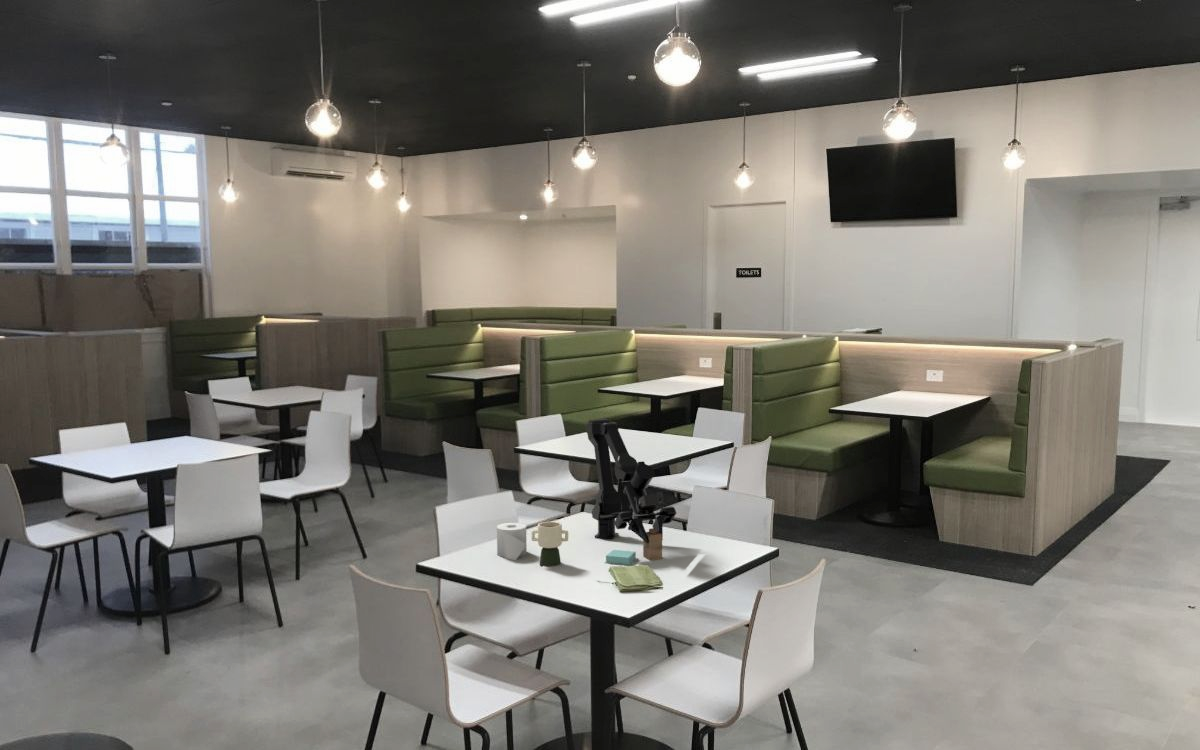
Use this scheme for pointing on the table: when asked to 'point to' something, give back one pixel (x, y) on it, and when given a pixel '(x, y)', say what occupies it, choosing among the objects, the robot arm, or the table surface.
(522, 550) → the toilet tissue
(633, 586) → the washcloth
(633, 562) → the slate slab
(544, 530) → the character mug
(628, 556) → the teal slab
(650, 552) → the walnut pillar
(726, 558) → the table surface
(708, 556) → the table surface
